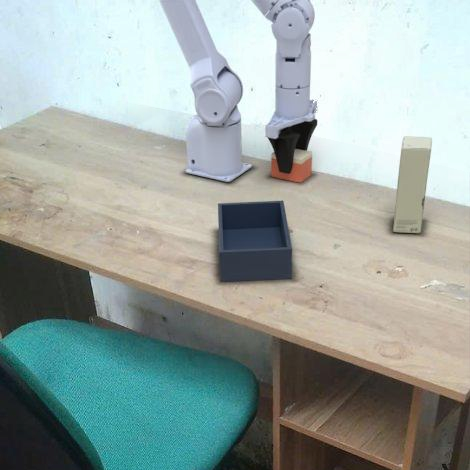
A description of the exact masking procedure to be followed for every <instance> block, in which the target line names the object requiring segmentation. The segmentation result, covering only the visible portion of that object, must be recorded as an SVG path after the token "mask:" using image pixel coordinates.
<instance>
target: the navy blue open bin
mask: <svg viewBox="0 0 470 470" xmlns="http://www.w3.org/2000/svg"><path fill="white" fill-rule="evenodd" d="M217 218H218V219H217V221H218V222H217V224H218V249H219V251H218V252H219V269H220V270H219V272H220V273H219V274H220V282H221V283H227V282H228V283H229V282H247V281H250V282H251V281H270V280H271V281H272V280H291V279H292V273H293V272H292V270H293V269H292V265H293V264H292V263H293V247H292V242H291V236H290V230H289V223H288V218H287V212H286V206H285V201H284V200H265V201H264V200H263V201H244V202H242V201H241V202H225V203H224V202H221V203H220V202H219V203H217Z"/></svg>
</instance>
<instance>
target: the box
mask: <svg viewBox="0 0 470 470" xmlns="http://www.w3.org/2000/svg"><path fill="white" fill-rule="evenodd" d="M432 147H433V138H432V137H431V136H412V135H411V136H410V135H408V136H407V135H406V136H402V142H401V149H400V157H399V167H398V174H397V177H398V178H397V186H396V194H395V205H394V217H393V226H392V227H393V228H392V232H393V233H400V234H401V233H402V234H403V233H404V234H406V233H407V234H421V232H422V231H421V230H422V225H423V218H424V216H423V215H424V209H425V202H426V193H427V186H428V185H427V184H428V177H429V169H430V161H431V154H432Z"/></svg>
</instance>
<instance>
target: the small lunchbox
mask: <svg viewBox="0 0 470 470" xmlns="http://www.w3.org/2000/svg"><path fill="white" fill-rule="evenodd" d="M312 166H313V152H312V151H309V150H307V151H305V150H300V149H295V151H294V158H293V166H292V170H291V173H290V174H287V173H282V172H279V169H278V164H277V160H276V156H275V153H274V151H273V152H272V153H270V173H271V174H270V177H272V178H277V179H281V180H285V181H290V182H294V183H300V184H302V182H304V181H306V180H307V179H308V178H309V177H311V176H312V172H313V171H312V168H313V167H312Z"/></svg>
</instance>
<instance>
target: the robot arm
mask: <svg viewBox="0 0 470 470" xmlns="http://www.w3.org/2000/svg"><path fill="white" fill-rule="evenodd" d="M250 1H251V2H252V4H254V6H255V7H256V9H258V11H259V12H260V13H261V15H263V16H264V18H265V19H266V20H268V21H269V22H271V25H270V27H271V32H272V36H273V38H274V39H275V41H276V43H275V44H276V49H275V51H276V52H275V82H274V83H275V85H274V86H275V87H274V88H275V90H274V91H275V98H274V99H275V102H274V104H275V105H274V107H275V109H274V112H273V114H272V116H271V117H270V119H269V121H268V123H266V124H265V125H264V127H265V128H264V130H265V131H264V133H265V135H264V136H265V138H267V139H268V141H269V143H270V145H271V148H272V149H273V152H274V153H275V156H276V160H277V164H278V169H279V172H282V173H287V174H290V173H291V170H292V166H293V158H294V151H295V149H300V150H305V151H308V150H309V149H308V148H309V145H310V141H311V138H312V137H313V135H314V131H316V128H317V126H318V119H317V118H316V113H317V112H318V106H317V101H318V100H317V101H315V102H314V103H313V101H314V100H315V99H312V100H310V99H311V74H312V73H311V71H312V70H311V69H312V51H311V46H312V40H311V39H312V38H311V37H312V34H311V33H310V31H311V29H312V28H313V25H314V23H315V15H316V13H315V12H316V11H315V8H314V5H313V4H312V2H311V0H250ZM158 2H159V4H160V6H161V8H162V11H163V13H164V15H165V17H166V19H167V22H168V23H169V26H170V29H171V30H172V33H173V35H174V37H175V40H176V41H177V43H178V46H179V48H180V50H181V52H182V54H183V57H184V59H185V61H186V64H187V66H188V68H189V86H190V89H191V91H192V93H193V99H194V108H195V112H196V114H195V115H193V116H192V117H191V118H190V119H189V121H188V123H187V125H186V131H185V143H186V158H187V159H186V160H187V169H185V173H186V174H190V175H194V176H199V177H204V178H208V179H212V180H216V181H220V182H225V183H231V182H232V181H233V180H235V179H236V178H238V177H239V176H241V175H243V174H244V173H246V172H247V171H248V170H250V169H251V168H252V167H253V166H252V164H251V163H249V162H248V163H247V162H243V145H242V144H243V143H242V142H243V141H242V140H243V139H242V114H241V112H240V110H239V108H238V104H239V103H240V102H241V101H242V98H243V95H244V85H243V81H242V79H241V77H240V76H239V75H238V74H237V73H236V72H235V71H234V70H233V69H232V68H231V66H230V65H229V63H228V61H227V58H225V57H224V55H222V54H221V53H220V52H219V50H218V49H217V47H216V44H215V42H214V40H213V38H212V35H211V33H210V31H209V28H208V26H207V23H206V21H205V19H204V17H203V14H202V11H201V10H200V8H199V4H198V3H197V1H196V0H158ZM316 108H317V109H316ZM316 111H317V112H316Z"/></svg>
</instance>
